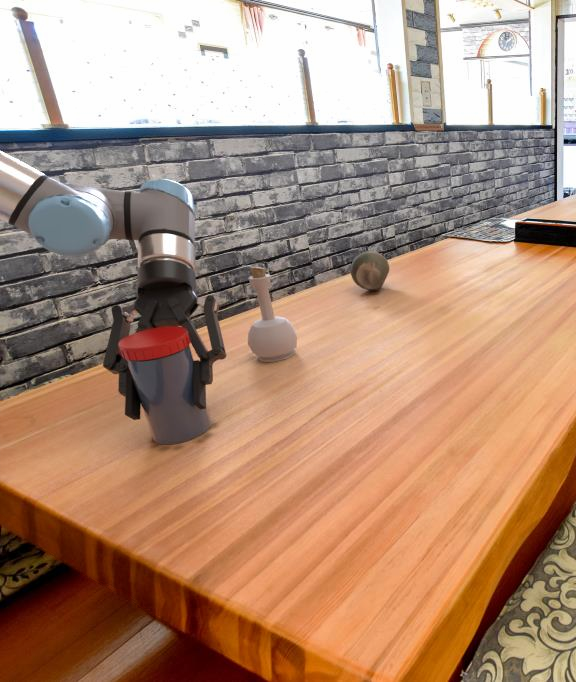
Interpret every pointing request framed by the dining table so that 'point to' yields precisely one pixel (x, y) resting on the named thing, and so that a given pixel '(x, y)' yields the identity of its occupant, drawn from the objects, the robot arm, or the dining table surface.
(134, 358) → the lid
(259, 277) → the potion bottle
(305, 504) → the dining table surface
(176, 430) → the grey storage canister
